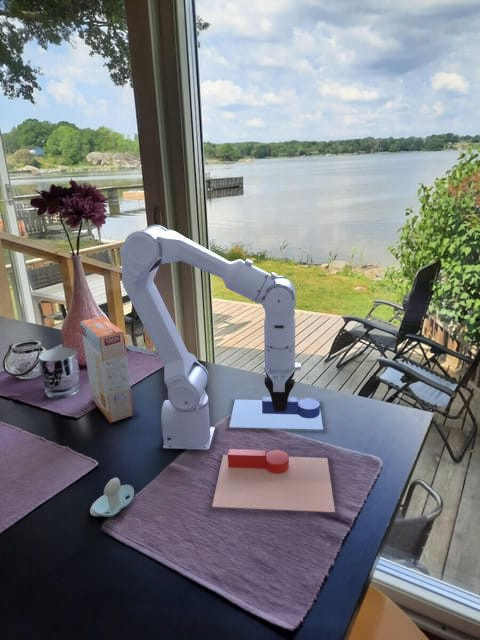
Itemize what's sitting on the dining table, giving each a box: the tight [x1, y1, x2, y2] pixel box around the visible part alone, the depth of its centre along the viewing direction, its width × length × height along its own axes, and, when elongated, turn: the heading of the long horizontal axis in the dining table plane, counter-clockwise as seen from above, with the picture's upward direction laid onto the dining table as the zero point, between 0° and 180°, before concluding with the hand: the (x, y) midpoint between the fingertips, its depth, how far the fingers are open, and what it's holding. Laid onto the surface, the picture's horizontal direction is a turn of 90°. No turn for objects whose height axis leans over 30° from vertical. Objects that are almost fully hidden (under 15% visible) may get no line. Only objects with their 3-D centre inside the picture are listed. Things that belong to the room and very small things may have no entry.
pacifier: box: [89, 477, 135, 518], centre depth 73 cm, size 7×6×6 cm
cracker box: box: [80, 316, 134, 424], centre depth 102 cm, size 14×6×21 cm, turn 34°
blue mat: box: [228, 399, 324, 431], centre depth 99 cm, size 20×12×1 cm, turn 85°
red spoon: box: [227, 448, 290, 474], centre depth 82 cm, size 11×4×3 cm, turn 85°
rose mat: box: [211, 454, 336, 513], centre depth 78 cm, size 20×14×1 cm
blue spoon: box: [261, 396, 321, 418], centre depth 86 cm, size 11×4×3 cm, turn 84°
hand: (279, 407), depth 87 cm, fingers closed on blue spoon, 2 cm apart
